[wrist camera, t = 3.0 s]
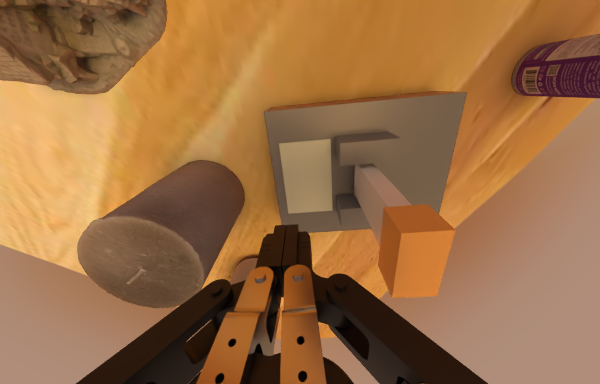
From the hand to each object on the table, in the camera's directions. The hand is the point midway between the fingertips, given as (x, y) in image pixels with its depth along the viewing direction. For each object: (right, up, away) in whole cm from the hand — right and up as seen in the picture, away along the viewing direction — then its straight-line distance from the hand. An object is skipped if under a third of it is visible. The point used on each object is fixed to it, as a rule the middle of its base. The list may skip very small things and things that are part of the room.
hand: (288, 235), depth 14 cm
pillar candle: (-11, +3, +15) cm, 19 cm away
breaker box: (+7, +7, +13) cm, 16 cm away
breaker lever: (+7, +4, +7) cm, 11 cm away
